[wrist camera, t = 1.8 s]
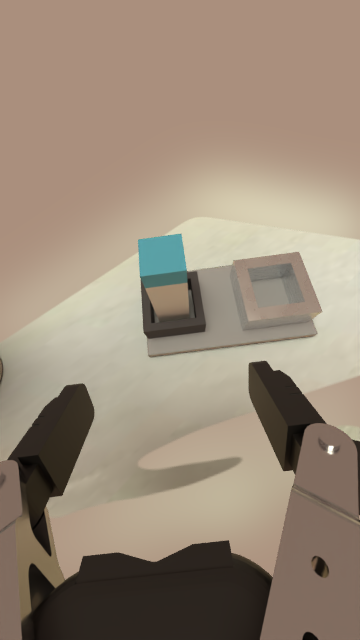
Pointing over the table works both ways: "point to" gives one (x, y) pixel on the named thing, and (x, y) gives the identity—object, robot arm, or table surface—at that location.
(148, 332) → the dark grey square socket
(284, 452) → the robot arm
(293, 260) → the port
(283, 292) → the panel
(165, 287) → the plug
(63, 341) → the table surface
